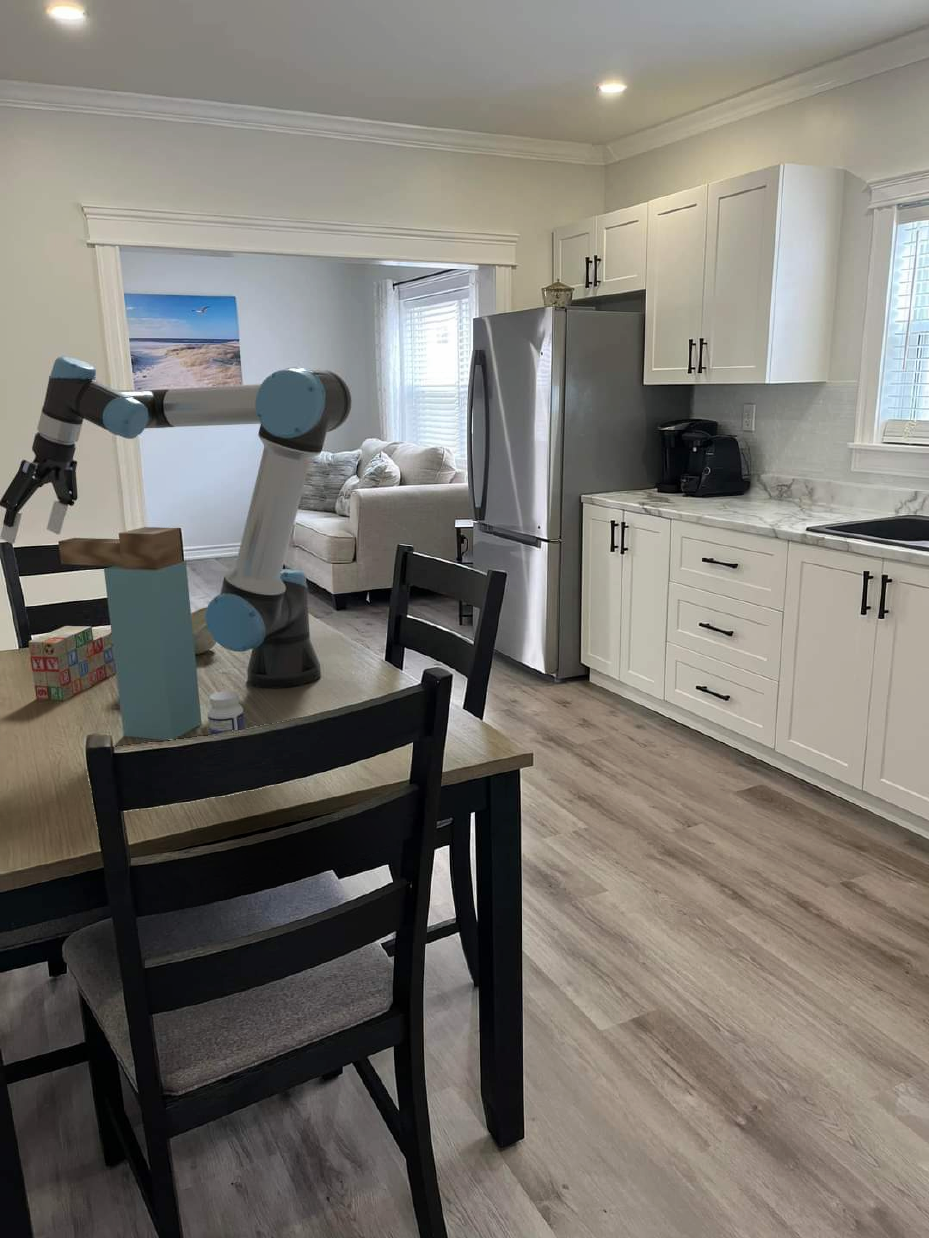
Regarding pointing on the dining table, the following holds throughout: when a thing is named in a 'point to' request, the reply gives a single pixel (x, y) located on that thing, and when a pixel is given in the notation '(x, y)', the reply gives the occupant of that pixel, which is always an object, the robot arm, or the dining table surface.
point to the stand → (153, 650)
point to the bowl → (201, 632)
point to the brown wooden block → (126, 549)
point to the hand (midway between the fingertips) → (30, 536)
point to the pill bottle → (225, 712)
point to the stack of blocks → (71, 661)
